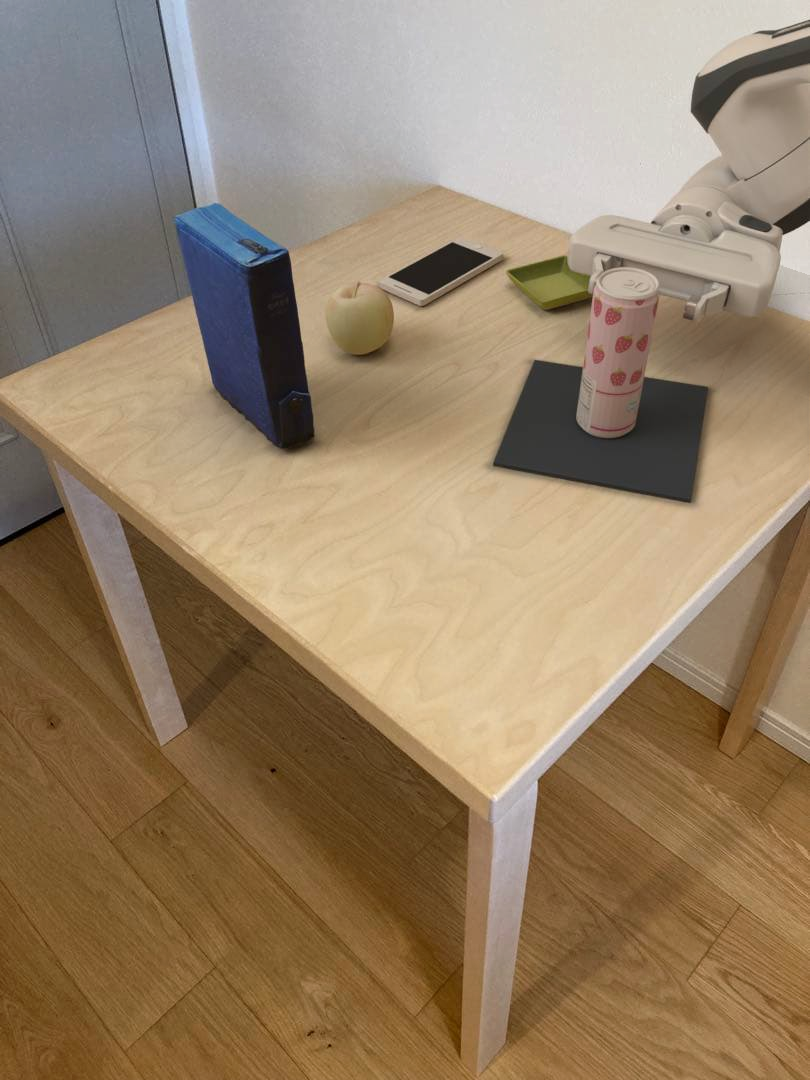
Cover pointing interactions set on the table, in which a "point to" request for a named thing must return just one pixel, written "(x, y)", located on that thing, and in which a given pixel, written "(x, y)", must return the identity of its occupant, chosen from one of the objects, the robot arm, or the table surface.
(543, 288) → the saucer
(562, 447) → the mat
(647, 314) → the beverage can
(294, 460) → the table surface
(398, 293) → the smartphone
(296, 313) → the book
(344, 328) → the fruit
